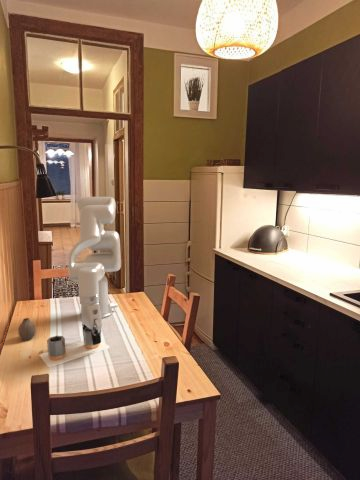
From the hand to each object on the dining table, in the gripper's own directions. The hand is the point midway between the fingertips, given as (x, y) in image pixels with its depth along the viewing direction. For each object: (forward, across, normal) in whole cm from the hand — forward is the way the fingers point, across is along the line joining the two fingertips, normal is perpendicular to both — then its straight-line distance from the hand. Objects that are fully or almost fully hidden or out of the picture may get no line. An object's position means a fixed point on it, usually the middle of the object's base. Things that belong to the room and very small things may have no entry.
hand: (91, 339), depth 140 cm
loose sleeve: (+3, 0, 0) cm, 3 cm away
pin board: (+4, 0, +7) cm, 8 cm away
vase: (+4, +27, +18) cm, 33 cm away
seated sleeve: (+3, 0, +14) cm, 14 cm away
